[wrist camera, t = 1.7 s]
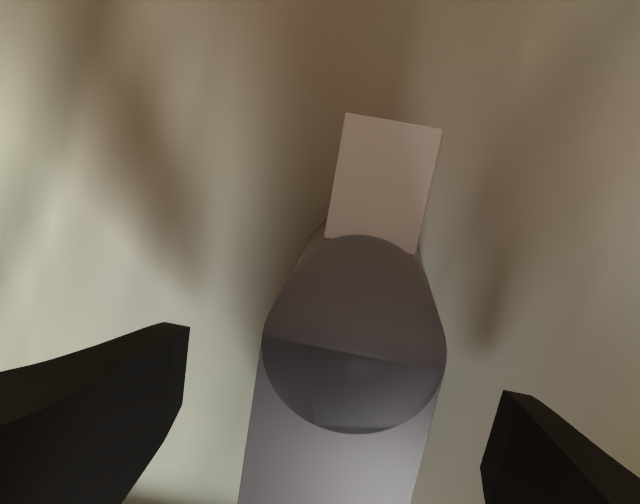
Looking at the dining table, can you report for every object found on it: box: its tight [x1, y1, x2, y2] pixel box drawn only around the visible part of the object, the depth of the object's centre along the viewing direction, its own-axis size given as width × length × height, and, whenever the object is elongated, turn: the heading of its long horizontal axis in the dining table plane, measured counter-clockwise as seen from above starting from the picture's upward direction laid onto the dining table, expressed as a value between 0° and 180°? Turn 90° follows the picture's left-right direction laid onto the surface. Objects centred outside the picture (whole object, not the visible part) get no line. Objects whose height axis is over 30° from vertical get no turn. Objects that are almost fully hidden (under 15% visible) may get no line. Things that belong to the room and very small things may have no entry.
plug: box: [237, 112, 447, 504], centre depth 11 cm, size 3×10×5 cm, turn 170°
